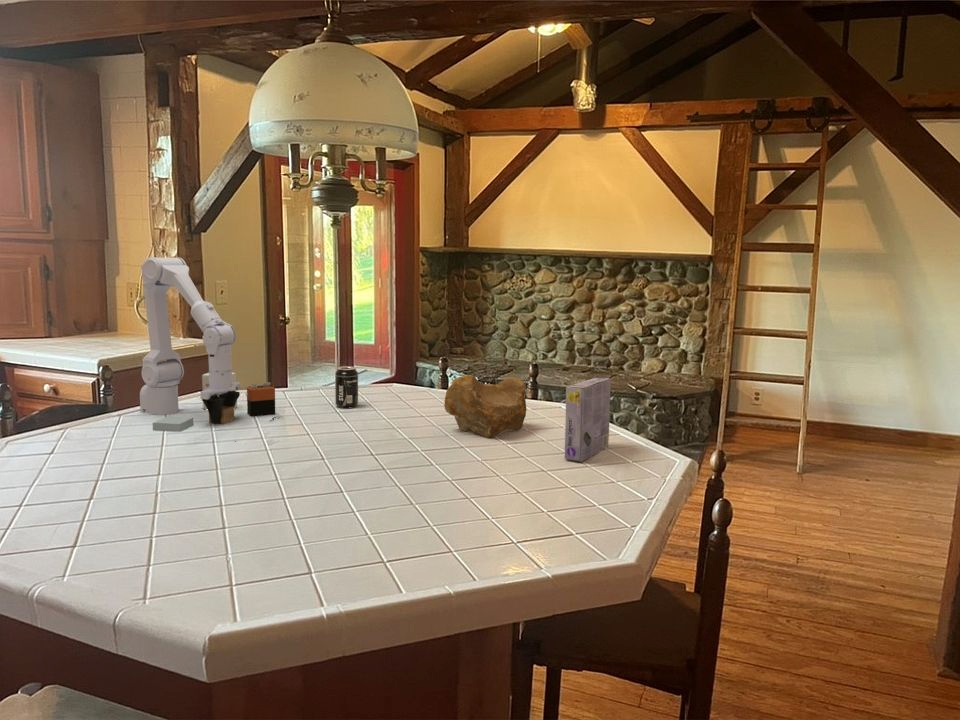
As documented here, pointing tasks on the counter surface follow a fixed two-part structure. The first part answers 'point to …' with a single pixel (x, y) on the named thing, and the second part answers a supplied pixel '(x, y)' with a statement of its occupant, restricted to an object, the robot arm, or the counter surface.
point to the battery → (261, 400)
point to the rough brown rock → (487, 405)
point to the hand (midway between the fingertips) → (221, 420)
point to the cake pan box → (587, 418)
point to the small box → (206, 384)
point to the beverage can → (346, 386)
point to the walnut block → (226, 414)
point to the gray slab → (172, 424)
